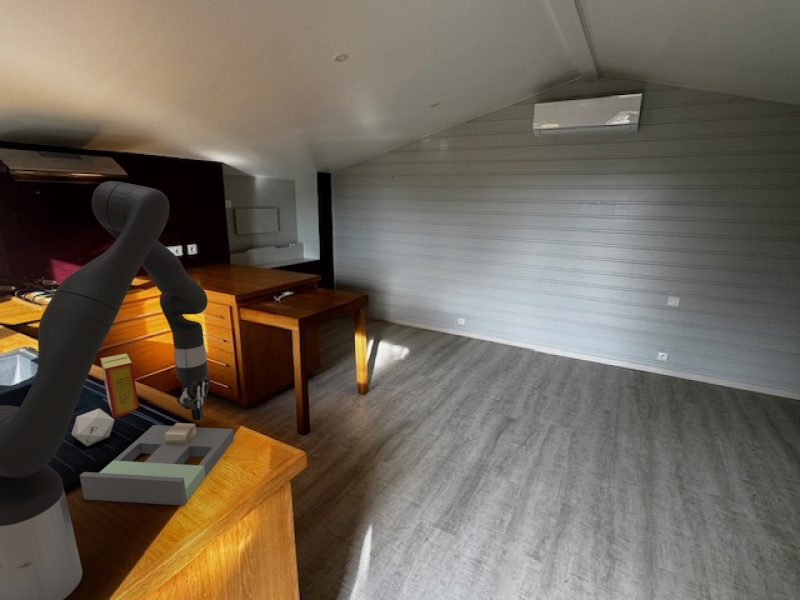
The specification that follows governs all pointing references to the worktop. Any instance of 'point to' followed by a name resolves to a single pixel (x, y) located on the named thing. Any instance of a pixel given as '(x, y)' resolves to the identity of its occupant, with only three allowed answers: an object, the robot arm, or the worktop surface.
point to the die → (92, 427)
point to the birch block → (180, 434)
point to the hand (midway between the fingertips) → (197, 418)
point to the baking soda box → (119, 384)
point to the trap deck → (157, 468)
